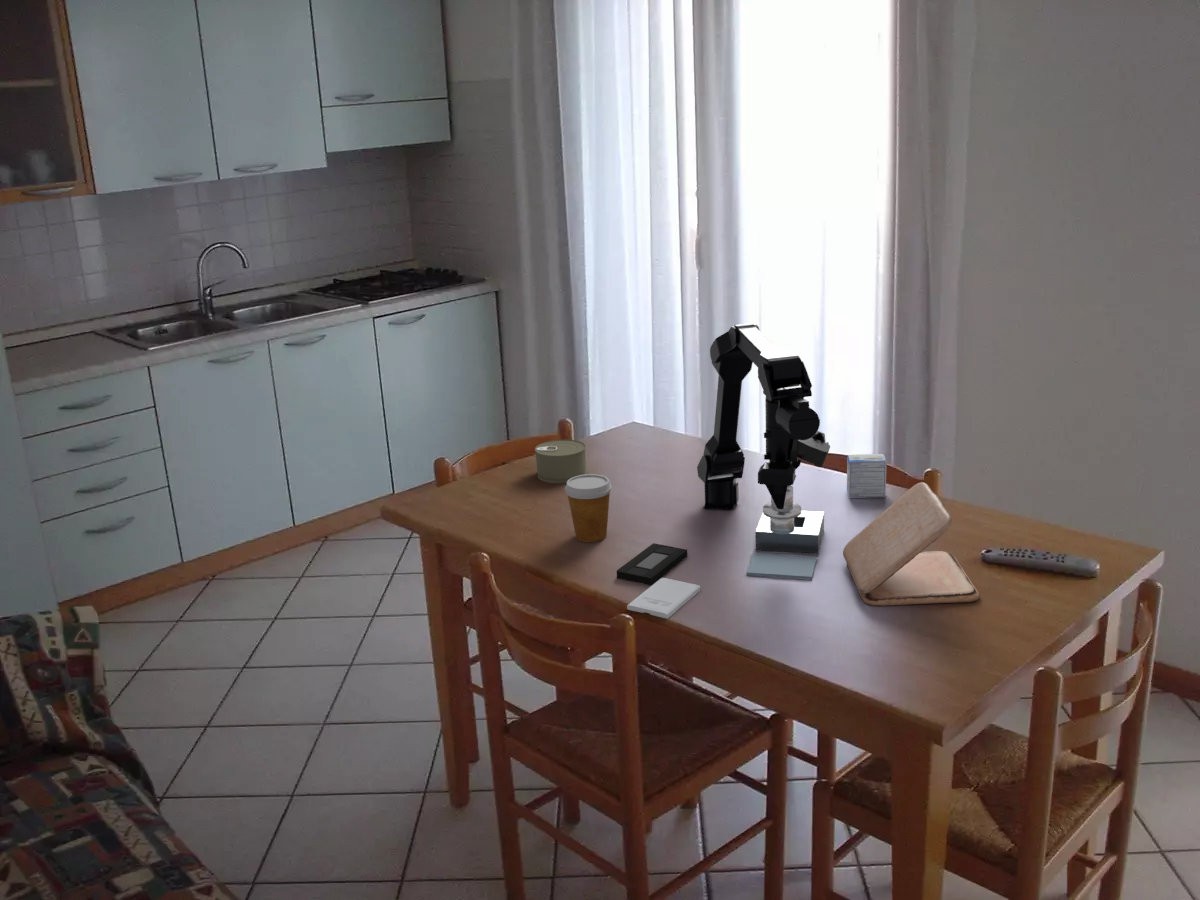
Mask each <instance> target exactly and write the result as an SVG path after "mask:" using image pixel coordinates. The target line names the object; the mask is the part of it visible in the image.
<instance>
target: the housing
mask: <svg viewBox="0 0 1200 900" xmlns="http://www.w3.org/2000/svg"><path fill="white" fill-rule="evenodd" d="M757 524H758V525H757V527H756V528H755V551H758V552H759V551H760V552H761V551H762V552H773V553H777V552H778V553H787V554H788V553H790V554H791V553H792V554H807V555H808V554H809V555H819V552H820V548H821V544H822V540H823V535H824V532H825V511H819V510H818V511H816V510H815V511H814V510H813V511H812V510H801V514H800V515H799V516H797V517H795V518H794V531H793V532H791V533H788V534H777V533H773V532H772V531H771V530H770V517H767V516H766V515H764V513H763V512H762V514H761V517H760V519H759V521H758V523H757Z"/></svg>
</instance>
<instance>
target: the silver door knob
mask: <svg viewBox="0 0 1200 900" xmlns="http://www.w3.org/2000/svg"><path fill="white" fill-rule="evenodd" d="M801 511H802V505H800V504H799V503H796V502H794V487H793V485H790V486H788V488H787V493H786V498H785V503H784V508H783V509H777V507H776V505H775V503H774V501H773V499H772V497H771V496H770V502H767V503H766V504H764V505H763V507H762V513H764V515H766V516H767V517H770V530H771V531H772V532H773V533H777V534H788V533H791V532H793V531H794V518H795V517H797V516H799V515H800V514H801Z"/></svg>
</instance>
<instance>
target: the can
mask: <svg viewBox="0 0 1200 900" xmlns="http://www.w3.org/2000/svg"><path fill="white" fill-rule="evenodd" d="M586 447H587V446H586V444H585V443H584V442H582V441H580V440H574V439H554V440H549V441H545V442H542V443H540V444H537V445H536V446H535V448H534V453H535V462H536V471H537V478H538V480H540V481H541V482H544V483H550V484H567V481H568V480H569V479H570V478H572V477H575V476H579V475H585V474H587V460H586V459H587V458H586V449H587V448H586Z"/></svg>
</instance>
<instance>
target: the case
mask: <svg viewBox="0 0 1200 900" xmlns="http://www.w3.org/2000/svg"><path fill="white" fill-rule="evenodd" d="M952 522H953V519H952V516H951V514H950V512H949V511H948V510H947V509H946V508H945V504H944V502H943V501H942V500H941V498H940V497H939V496H938V495H937V494H936V493H935V492H934V491H933V490H932V488H931V487H930V486H929V484H928V483H925V482H924V481H921V482H918V483H916V484H914V485H913V486H911V487H910V488H909V489H908V490H907V491H906V492H904V493H903V495H901V496H900V497H899V498H898V499H896V501H894V502H893V503H892V504H890V506H889V507H887V508H886V509H885V510H884V511H882V513H880V514H879V515H878V516H877V517H876V518H875V519H874V520H872V521H871V522H870V523H869V524H867V526H865V528H863V529H862V530H861V531H860V532H859V533H857V534H856V535H855V536H854V537H853V538H852V539H850V540H849V541H848V542H847V544H845V546H844V548H843V551H842V555H843V558H844V560H845V562H846V565H847V568H848V570H849V572H850V574H851V576H852V578H853V581H854V584H855V585H856V589H857V590H858V592H859V596H860V597H861V600H862V601H863V602H864V603H865V604H866V605H869V606H871V607H872V606H873V607H886V606H887V607H889V606H902V605H904V606H906V605H907V606H908V605H925V604H948V603H953V604H954V603H971V602H976V601H977V600H979V598H980V593H979V590H978V589H977V588H976V586H975V585H974V583H973V582H972V580H971V579H970V577H969V576H968V575H967V573H966V572H965V570H964V568H963V567H962V565H961V564H960V563H959V561H958V559H957V557H956V556H955V555H953V554H951V553H950V552H948V551H944V550H930V551H929V550H928V551H925V549H926V548H928V547H930V545H931V544H933V543H935V542H936V541H937V540H938V539H939V538H940V537H941V536H943V535H944V534H945V532H947V530H949V528H950V527H951V525H952Z"/></svg>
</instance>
